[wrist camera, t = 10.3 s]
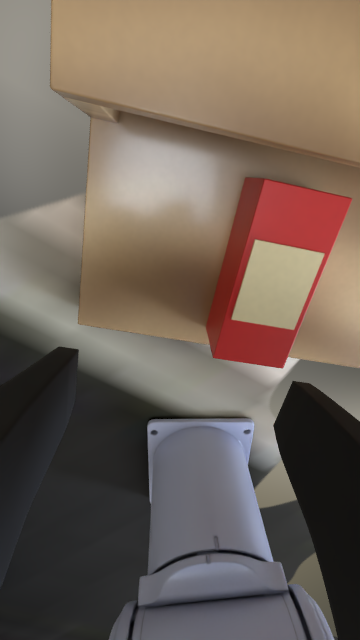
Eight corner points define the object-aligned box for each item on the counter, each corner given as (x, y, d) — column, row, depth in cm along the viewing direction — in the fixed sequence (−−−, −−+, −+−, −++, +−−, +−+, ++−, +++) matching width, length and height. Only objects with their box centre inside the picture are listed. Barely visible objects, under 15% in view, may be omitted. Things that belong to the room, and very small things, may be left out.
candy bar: (264, 337, 18) (283, 370, 15) (205, 327, 18) (213, 359, 15) (317, 193, 15) (354, 198, 12) (245, 176, 14) (265, 178, 11)
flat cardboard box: (351, 353, 21) (429, 430, 15) (86, 310, 19) (45, 378, 13) (527, 10, 14) (840, -130, 7) (117, -124, 11) (56, -485, 5)
